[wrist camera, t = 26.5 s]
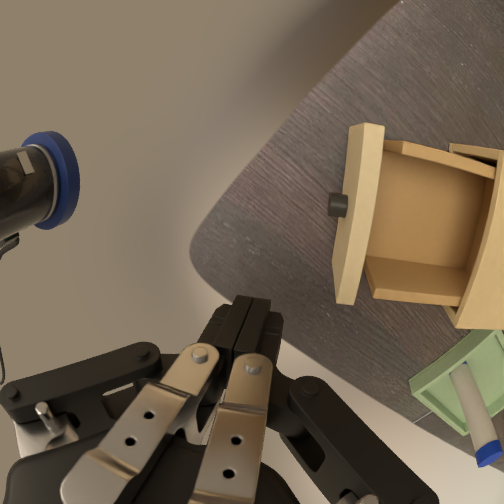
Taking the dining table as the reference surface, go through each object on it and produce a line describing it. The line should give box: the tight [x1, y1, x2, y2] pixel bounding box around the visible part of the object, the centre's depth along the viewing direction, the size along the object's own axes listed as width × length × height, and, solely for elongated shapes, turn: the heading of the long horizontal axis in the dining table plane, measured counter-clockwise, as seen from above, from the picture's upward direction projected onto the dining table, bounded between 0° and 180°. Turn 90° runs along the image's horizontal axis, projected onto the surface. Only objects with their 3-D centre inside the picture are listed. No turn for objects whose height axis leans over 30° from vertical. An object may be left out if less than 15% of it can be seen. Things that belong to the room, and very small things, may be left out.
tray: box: [408, 329, 504, 436], centre depth 26 cm, size 20×13×2 cm, turn 51°
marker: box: [449, 361, 503, 467], centre depth 20 cm, size 3×3×14 cm
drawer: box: [328, 123, 497, 307], centre depth 18 cm, size 15×11×7 cm
